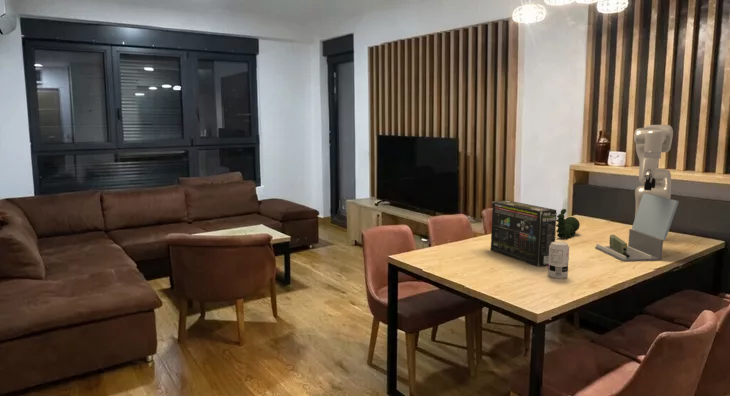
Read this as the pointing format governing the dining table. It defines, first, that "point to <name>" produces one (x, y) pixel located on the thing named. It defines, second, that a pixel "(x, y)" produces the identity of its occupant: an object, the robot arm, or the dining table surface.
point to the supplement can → (558, 260)
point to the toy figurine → (566, 225)
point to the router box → (523, 231)
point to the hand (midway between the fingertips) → (649, 189)
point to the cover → (655, 215)
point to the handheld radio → (618, 245)
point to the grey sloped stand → (637, 248)
